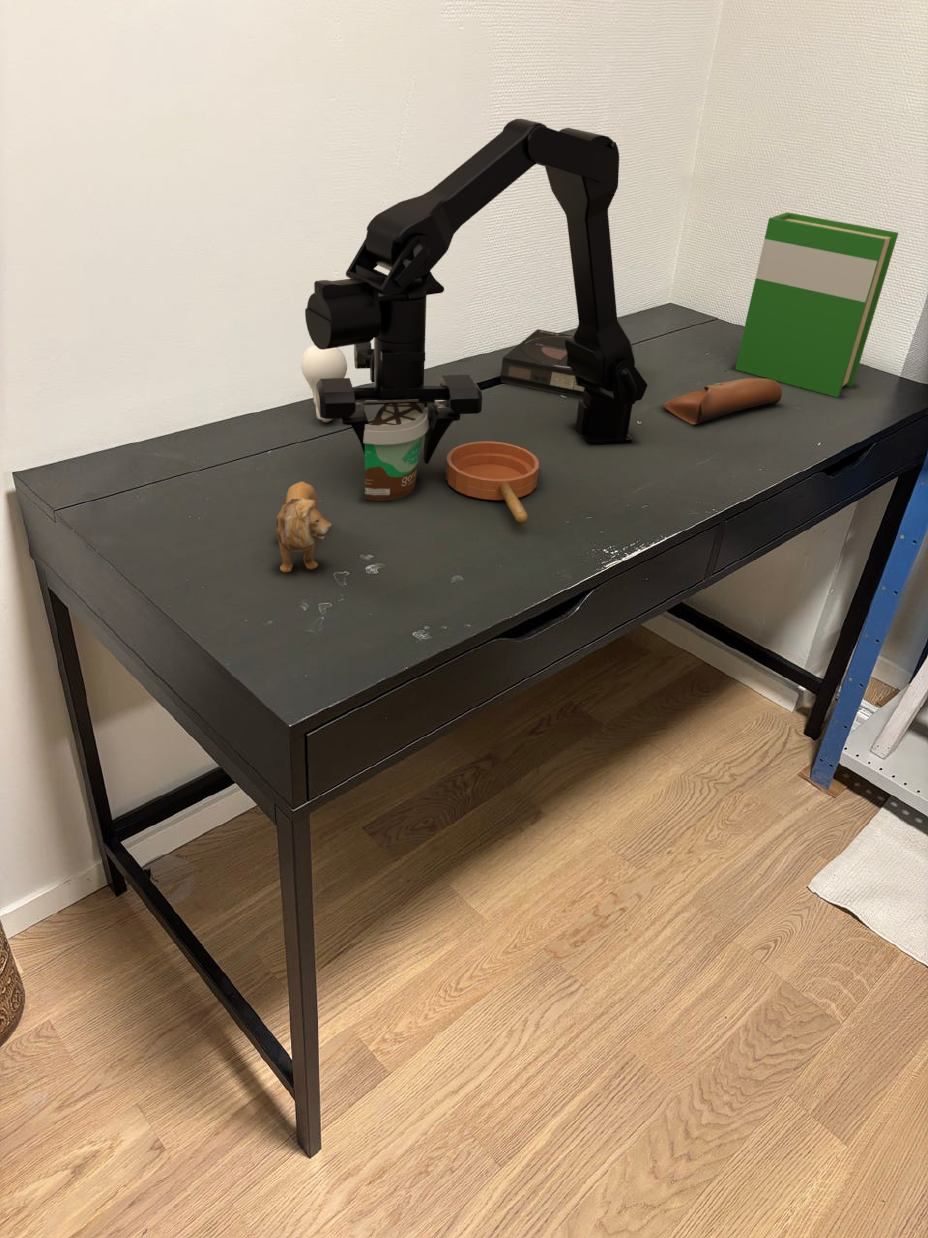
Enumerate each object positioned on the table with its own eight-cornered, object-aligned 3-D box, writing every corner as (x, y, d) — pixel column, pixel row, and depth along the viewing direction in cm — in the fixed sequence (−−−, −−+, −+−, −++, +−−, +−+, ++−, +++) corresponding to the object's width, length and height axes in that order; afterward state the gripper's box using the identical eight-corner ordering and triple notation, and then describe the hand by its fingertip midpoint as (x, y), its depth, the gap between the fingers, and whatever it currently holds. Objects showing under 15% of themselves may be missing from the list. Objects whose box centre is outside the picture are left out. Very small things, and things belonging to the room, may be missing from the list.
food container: (412, 513, 111) (417, 434, 105) (361, 505, 111) (363, 426, 105) (433, 468, 121) (439, 394, 115) (386, 461, 121) (390, 386, 115)
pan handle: (508, 489, 114) (508, 478, 113) (528, 525, 107) (529, 514, 106) (496, 489, 113) (497, 479, 113) (516, 525, 106) (517, 514, 105)
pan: (522, 460, 124) (524, 439, 123) (547, 500, 115) (550, 478, 113) (437, 464, 122) (438, 443, 120) (456, 505, 113) (457, 482, 111)
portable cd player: (499, 383, 148) (501, 358, 145) (535, 352, 161) (537, 329, 159) (600, 403, 143) (604, 378, 141) (628, 370, 156) (632, 346, 154)
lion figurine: (334, 586, 96) (332, 508, 91) (281, 590, 95) (276, 511, 90) (318, 518, 108) (316, 445, 103) (271, 521, 107) (266, 447, 102)
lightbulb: (355, 417, 133) (354, 340, 127) (336, 433, 128) (334, 353, 122) (315, 410, 134) (313, 333, 128) (295, 425, 130) (292, 346, 123)
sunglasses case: (738, 385, 151) (763, 356, 146) (762, 419, 149) (789, 392, 144) (658, 405, 142) (682, 375, 137) (683, 442, 140) (708, 413, 135)
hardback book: (852, 385, 156) (898, 232, 143) (837, 397, 151) (883, 239, 138) (752, 359, 164) (787, 212, 151) (735, 369, 159) (769, 218, 146)
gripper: (465, 312, 114) (458, 433, 123) (309, 314, 110) (314, 439, 119) (487, 342, 105) (478, 471, 114) (318, 346, 101) (322, 478, 110)
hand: (397, 463), depth 114 cm, fingers closed on food container, 6 cm apart
